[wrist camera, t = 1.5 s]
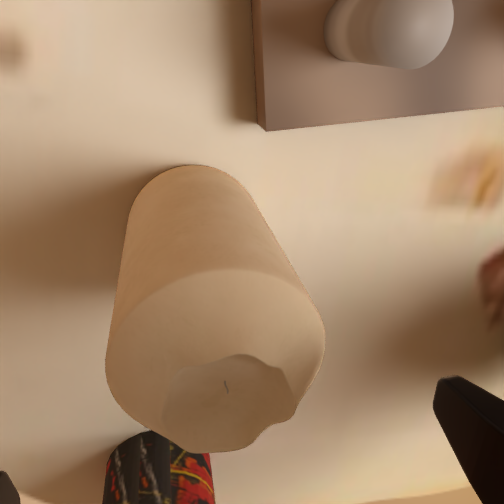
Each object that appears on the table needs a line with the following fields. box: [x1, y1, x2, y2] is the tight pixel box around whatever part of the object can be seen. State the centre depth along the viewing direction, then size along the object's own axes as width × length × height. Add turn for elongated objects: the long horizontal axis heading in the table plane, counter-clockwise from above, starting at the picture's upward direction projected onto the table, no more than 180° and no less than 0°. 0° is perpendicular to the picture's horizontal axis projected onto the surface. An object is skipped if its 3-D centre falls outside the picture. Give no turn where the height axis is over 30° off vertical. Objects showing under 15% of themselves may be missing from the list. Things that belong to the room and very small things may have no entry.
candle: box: [105, 165, 325, 453], centre depth 13 cm, size 6×6×10 cm
